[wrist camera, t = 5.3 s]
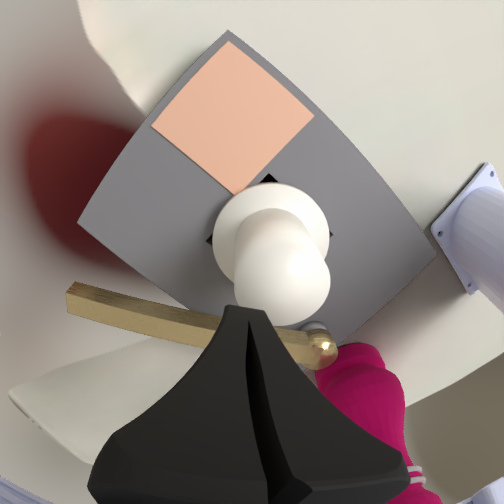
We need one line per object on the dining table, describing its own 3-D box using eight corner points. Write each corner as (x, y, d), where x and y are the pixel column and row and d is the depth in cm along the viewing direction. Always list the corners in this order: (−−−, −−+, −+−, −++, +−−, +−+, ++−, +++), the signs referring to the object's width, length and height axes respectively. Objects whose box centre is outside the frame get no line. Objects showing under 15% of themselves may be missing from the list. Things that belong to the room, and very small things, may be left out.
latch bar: (338, 330, 19) (344, 344, 18) (324, 357, 20) (329, 371, 19) (74, 275, 17) (65, 286, 15) (76, 305, 18) (68, 317, 16)
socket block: (420, 240, 20) (443, 259, 17) (290, 355, 24) (296, 384, 21) (229, 40, 15) (227, 25, 12) (93, 210, 19) (71, 227, 16)
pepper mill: (294, 369, 25) (332, 595, 7) (363, 323, 23) (461, 553, 5) (334, 401, 28) (378, 579, 9) (395, 363, 26) (472, 541, 8)
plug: (337, 222, 19) (383, 279, 13) (268, 287, 21) (281, 364, 14) (265, 152, 17) (283, 177, 11) (194, 229, 19) (173, 293, 12)
